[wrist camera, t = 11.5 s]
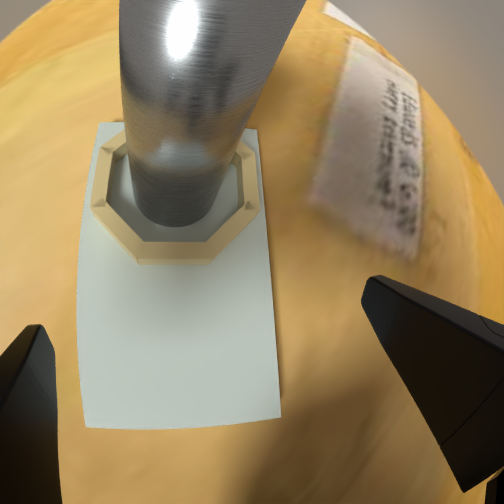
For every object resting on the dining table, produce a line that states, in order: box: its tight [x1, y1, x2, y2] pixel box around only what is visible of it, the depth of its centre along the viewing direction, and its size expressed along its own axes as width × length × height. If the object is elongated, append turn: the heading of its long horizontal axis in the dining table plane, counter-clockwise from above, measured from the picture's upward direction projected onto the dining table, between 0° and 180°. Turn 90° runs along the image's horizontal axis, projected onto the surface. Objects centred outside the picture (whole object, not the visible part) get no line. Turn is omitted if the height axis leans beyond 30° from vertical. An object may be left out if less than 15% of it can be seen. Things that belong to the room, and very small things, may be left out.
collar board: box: [77, 122, 281, 429], centre depth 15 cm, size 17×10×2 cm, turn 4°
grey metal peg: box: [119, 0, 306, 227], centre depth 10 cm, size 5×5×12 cm
